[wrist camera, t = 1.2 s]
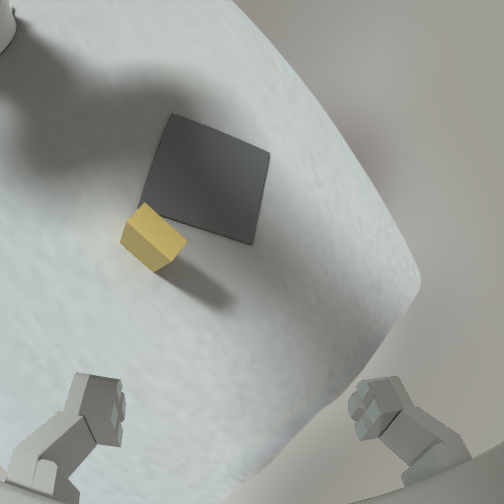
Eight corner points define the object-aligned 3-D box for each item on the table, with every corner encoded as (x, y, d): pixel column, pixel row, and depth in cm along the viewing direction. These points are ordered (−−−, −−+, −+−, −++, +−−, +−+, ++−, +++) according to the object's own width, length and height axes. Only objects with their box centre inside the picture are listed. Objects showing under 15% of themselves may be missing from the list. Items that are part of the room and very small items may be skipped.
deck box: (153, 272, 36) (171, 261, 27) (119, 242, 34) (126, 221, 26) (166, 256, 37) (188, 241, 28) (133, 227, 35) (144, 202, 27)
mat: (137, 208, 36) (138, 207, 35) (171, 114, 39) (172, 113, 39) (250, 244, 42) (252, 244, 41) (268, 153, 45) (269, 152, 45)
